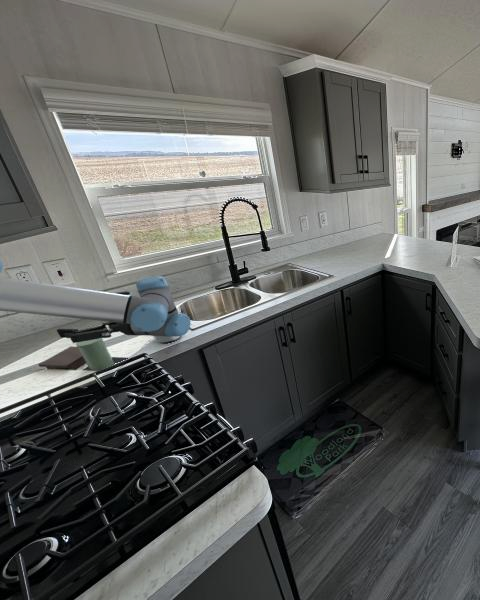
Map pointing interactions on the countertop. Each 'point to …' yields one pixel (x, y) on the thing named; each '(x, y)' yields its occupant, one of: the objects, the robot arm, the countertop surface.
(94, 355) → the sage green cylinder
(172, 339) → the spread jar
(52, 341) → the countertop surface
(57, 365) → the stand
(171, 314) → the robot arm
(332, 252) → the countertop surface
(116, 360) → the mat
